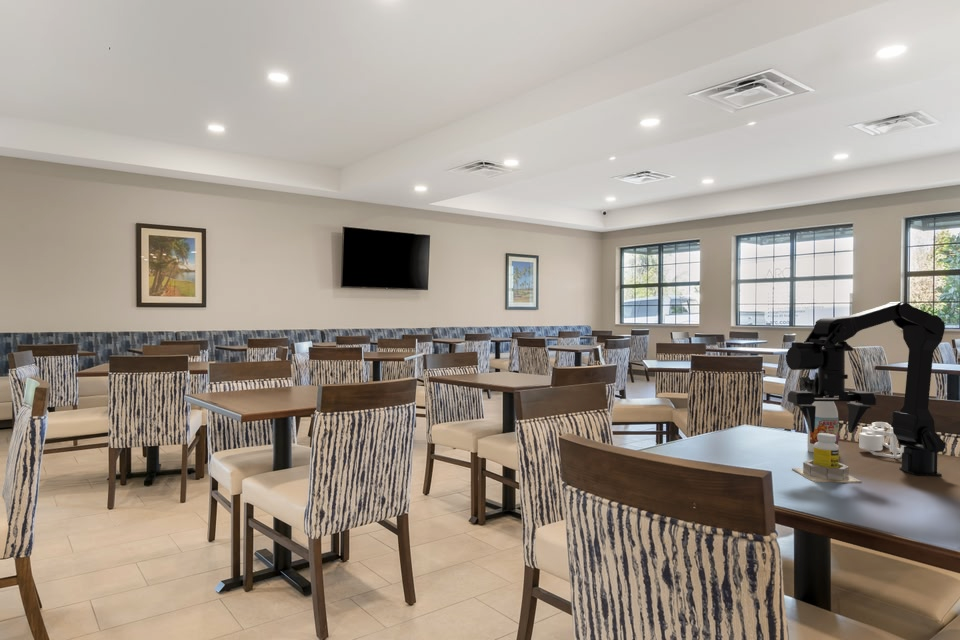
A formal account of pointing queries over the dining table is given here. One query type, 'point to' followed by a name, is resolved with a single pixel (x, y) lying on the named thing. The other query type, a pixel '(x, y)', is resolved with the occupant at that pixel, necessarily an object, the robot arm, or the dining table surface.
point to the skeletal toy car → (879, 440)
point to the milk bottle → (823, 422)
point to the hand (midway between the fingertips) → (831, 432)
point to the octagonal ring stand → (826, 473)
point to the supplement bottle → (826, 451)
